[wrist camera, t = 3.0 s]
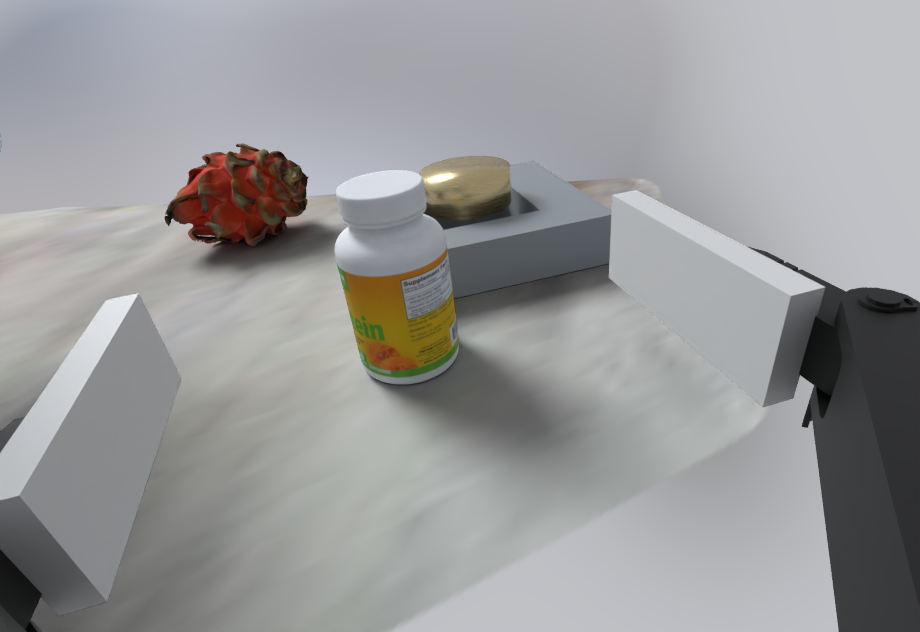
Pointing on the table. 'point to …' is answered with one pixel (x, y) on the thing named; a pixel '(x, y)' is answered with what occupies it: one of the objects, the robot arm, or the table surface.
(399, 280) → the supplement bottle
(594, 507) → the table surface
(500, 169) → the plunger disc
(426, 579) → the table surface
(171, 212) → the dragon fruit
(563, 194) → the socket plate
